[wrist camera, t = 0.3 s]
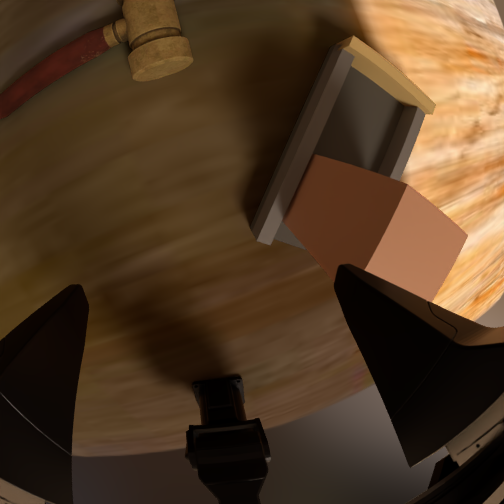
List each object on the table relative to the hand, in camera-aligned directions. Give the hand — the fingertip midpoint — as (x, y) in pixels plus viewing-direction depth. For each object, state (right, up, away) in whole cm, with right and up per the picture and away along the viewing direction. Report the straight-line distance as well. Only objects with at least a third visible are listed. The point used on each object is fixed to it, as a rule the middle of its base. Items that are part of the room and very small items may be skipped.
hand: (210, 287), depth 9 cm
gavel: (-14, +17, +6) cm, 23 cm away
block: (+8, +6, +14) cm, 17 cm away
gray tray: (+9, +10, +14) cm, 19 cm away
